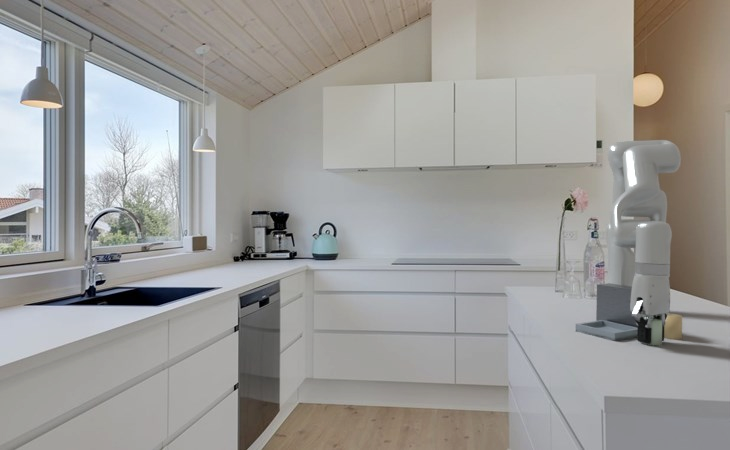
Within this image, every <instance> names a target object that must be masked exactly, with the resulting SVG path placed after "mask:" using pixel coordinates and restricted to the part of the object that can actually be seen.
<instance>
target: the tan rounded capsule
mask: <svg viewBox="0 0 730 450" xmlns="http://www.w3.org/2000/svg"><path fill="white" fill-rule="evenodd" d="M665 321H666V324H665V325H663V326H664V339H669V340H677V341H678V340H679V341H680V340H682V339H683V315H682V314H678V313H677V314H676V313H670V312H669V314H668V315H667V318H666V320H665Z"/></svg>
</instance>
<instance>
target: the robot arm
mask: <svg viewBox="0 0 730 450" xmlns="http://www.w3.org/2000/svg"><path fill="white" fill-rule="evenodd" d="M681 157H682V156H681V152H680V149H679V147H678V145H676V144H675V143H673V142H672V141H671V140H666V139H654V140H652V139H651V140H627V141H619V142H615V143H612V144H610V145H609V147H608V149H607V161H608V164H609V166H610V169H611V172H612V177H613V187H612V202H611V203H612V205H611V209H610V212H609V213H610V214H609V222H608V223H607V225H606V226H605V236H606V243H607V245H606V246H607V284H608V283H611V284H618V285H625V286H632V291H631V303H630V310H631V312H632V317H633V318H634V319H635V321H636V325H637V326H638V333H637V337H636V339H637V342H638V343H641V342H643V343H647V344H650V343H651V331H652V328H649V327H650V322H651V317H652V318H655V319H660V320H662V342H664V341H665V338H664V326H663V325H665V324H666V321H665V320H666V318H667V315H668V314H669V313H670V311H671V310H670V309H671V287H670V278H671V274H670V273H671V243H672V238H673V234H672V233H673V232H672V228H671V226H670V224H669V223H668V222H667V215H668V214H667V213H668V200H667V199H668V198H667V195H666V193H665V191H663V189H661V187H660V182H659V181H660V180H659V174H672V173H673V174H674V173H675V172H677V171H678V170H679V168H680V167H681V164H682V163H681V161H682V158H681ZM622 217H630V218H631V217H633V219H632V218H631V219H630V218H629V219H627V218H625V219H624V218H622ZM636 218H649V219H636ZM632 249H635V252H634V251H633V250H632ZM643 312H646V313H645V314H642V313H643ZM656 315H657V317H656ZM643 317H646V321H645V319H644V318H643ZM643 343H642V344H643ZM647 344H646V345H647Z"/></svg>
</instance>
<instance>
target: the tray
mask: <svg viewBox="0 0 730 450" xmlns="http://www.w3.org/2000/svg"><path fill="white" fill-rule="evenodd" d="M575 332H578V333H582V334H586V335H590V336H595V337H598V338H602V339H606V340H609V341H614V342H616V341H621V340H627V339H633V338H637V333H638V328H636V327H632V326H627V325H623V324H618V323H614V322H609V321H604V320H599V321H596V320H592V321H588V322H580V323H575Z"/></svg>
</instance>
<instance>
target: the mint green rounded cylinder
mask: <svg viewBox="0 0 730 450" xmlns="http://www.w3.org/2000/svg"><path fill="white" fill-rule="evenodd" d="M644 319H645V321H646V318H644ZM649 328H652V331H651V343H650V344H648V345H647V343H643V342H640V344H643V345H647V346H654V345H659V346H662V345H663V341H662V320H660V319H655V318H651V322H650V327H649Z"/></svg>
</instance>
